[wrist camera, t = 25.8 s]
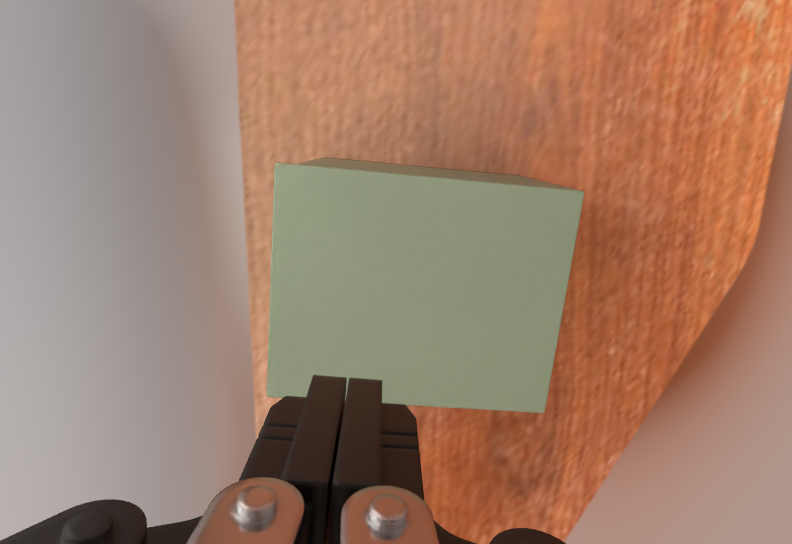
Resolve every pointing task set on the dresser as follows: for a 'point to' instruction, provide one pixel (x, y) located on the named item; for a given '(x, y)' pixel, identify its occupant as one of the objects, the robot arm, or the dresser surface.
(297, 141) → the dresser surface
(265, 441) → the robot arm
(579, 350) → the dresser surface
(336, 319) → the lid
